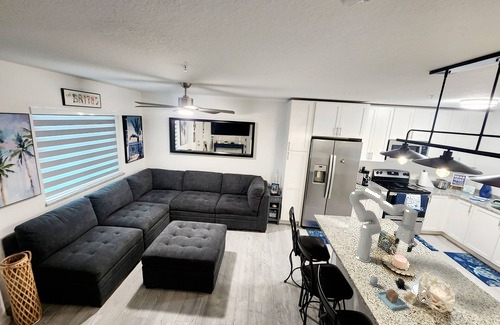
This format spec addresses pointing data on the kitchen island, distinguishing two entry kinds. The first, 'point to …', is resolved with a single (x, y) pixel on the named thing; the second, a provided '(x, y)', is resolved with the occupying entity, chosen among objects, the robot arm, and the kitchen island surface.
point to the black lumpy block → (400, 284)
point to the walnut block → (392, 296)
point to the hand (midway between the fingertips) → (402, 247)
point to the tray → (392, 306)
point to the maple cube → (410, 297)
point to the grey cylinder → (373, 281)
